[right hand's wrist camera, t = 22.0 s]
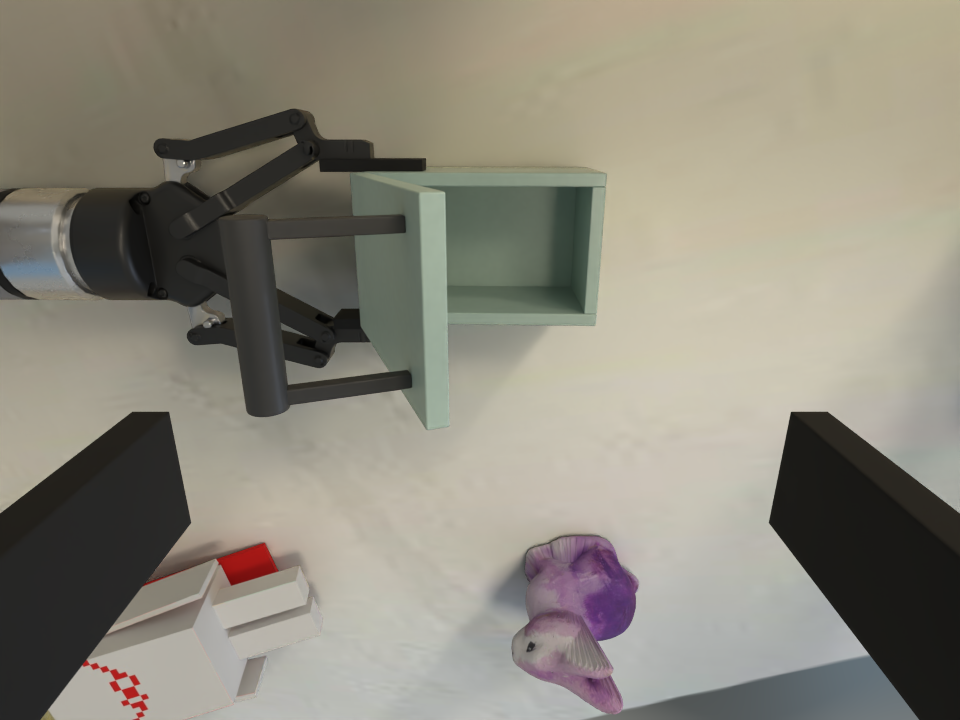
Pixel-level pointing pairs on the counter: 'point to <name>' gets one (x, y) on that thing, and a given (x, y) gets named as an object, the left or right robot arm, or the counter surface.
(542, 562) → the figurine
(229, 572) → the toy
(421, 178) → the chest
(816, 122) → the counter surface
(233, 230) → the lid
